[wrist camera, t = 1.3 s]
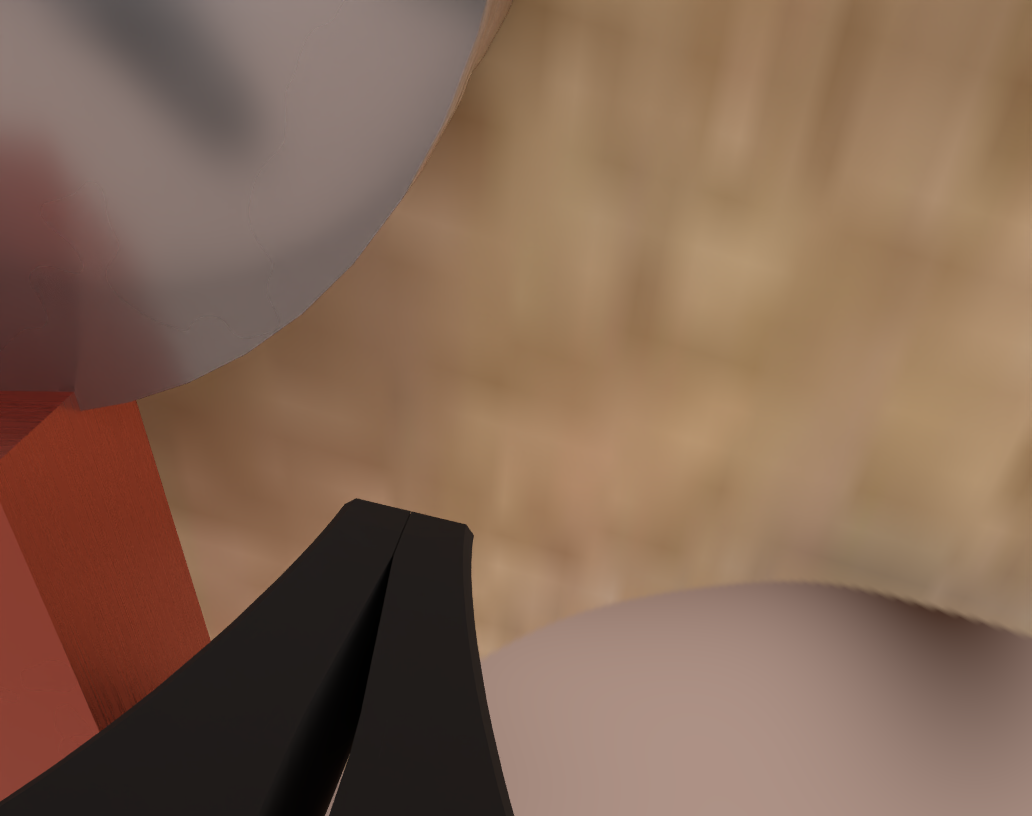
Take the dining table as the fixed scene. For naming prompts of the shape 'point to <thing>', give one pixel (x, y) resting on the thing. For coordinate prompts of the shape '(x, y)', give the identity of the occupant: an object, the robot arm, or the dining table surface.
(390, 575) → the robot arm
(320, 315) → the dining table surface
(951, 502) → the dining table surface
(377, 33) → the cooker lid
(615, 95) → the dining table surface
